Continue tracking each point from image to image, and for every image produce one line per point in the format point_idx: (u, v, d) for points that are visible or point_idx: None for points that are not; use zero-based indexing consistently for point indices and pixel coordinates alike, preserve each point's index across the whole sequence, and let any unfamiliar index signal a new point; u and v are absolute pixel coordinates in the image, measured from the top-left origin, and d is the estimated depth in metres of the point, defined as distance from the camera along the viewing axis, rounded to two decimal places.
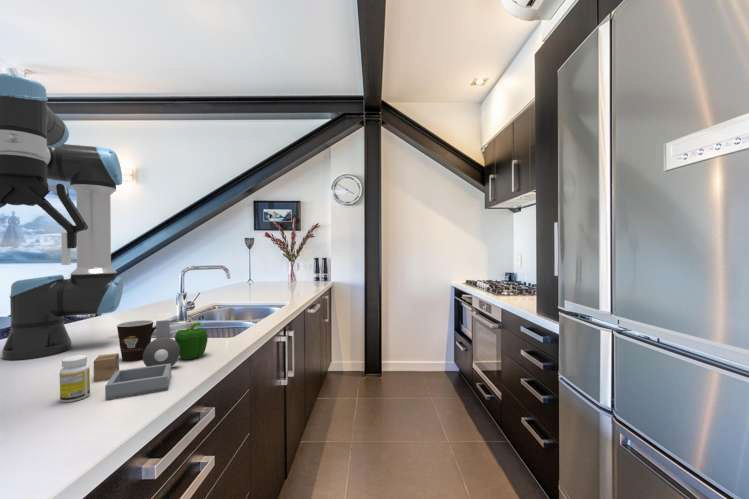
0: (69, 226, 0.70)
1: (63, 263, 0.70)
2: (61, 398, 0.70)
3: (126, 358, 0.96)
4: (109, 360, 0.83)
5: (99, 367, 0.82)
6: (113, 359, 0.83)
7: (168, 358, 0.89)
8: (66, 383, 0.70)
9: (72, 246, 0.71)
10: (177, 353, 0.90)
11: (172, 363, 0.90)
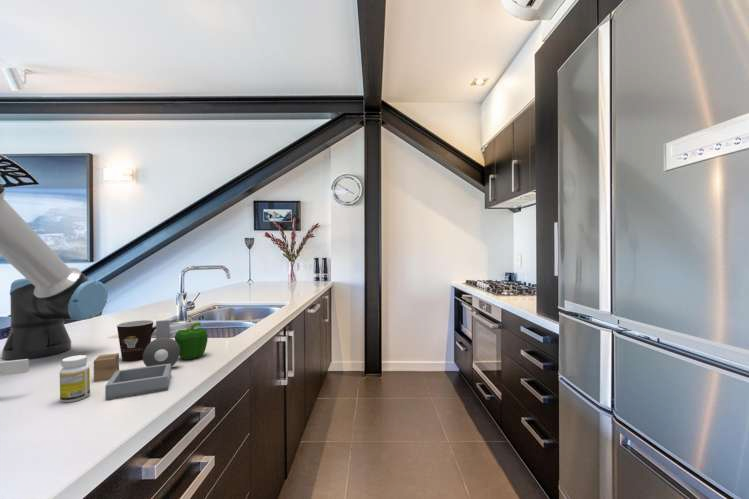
0: None
1: None
2: (61, 398, 0.70)
3: (126, 358, 0.96)
4: (109, 360, 0.83)
5: (99, 367, 0.82)
6: (113, 359, 0.83)
7: (168, 358, 0.89)
8: (66, 383, 0.70)
9: None
10: (177, 353, 0.90)
11: (172, 363, 0.90)
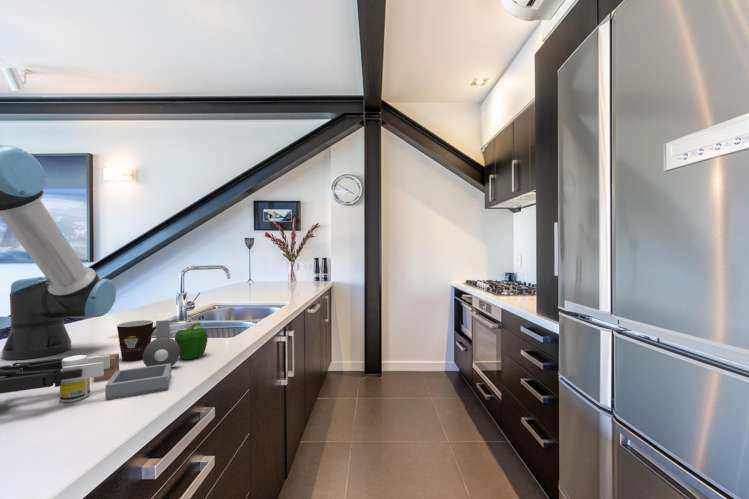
0: (52, 383, 0.68)
1: (101, 375, 0.72)
2: (61, 398, 0.70)
3: (126, 358, 0.96)
4: None
5: None
6: (113, 359, 0.83)
7: (168, 358, 0.89)
8: (66, 383, 0.70)
9: (78, 377, 0.70)
10: (177, 353, 0.90)
11: (172, 363, 0.90)
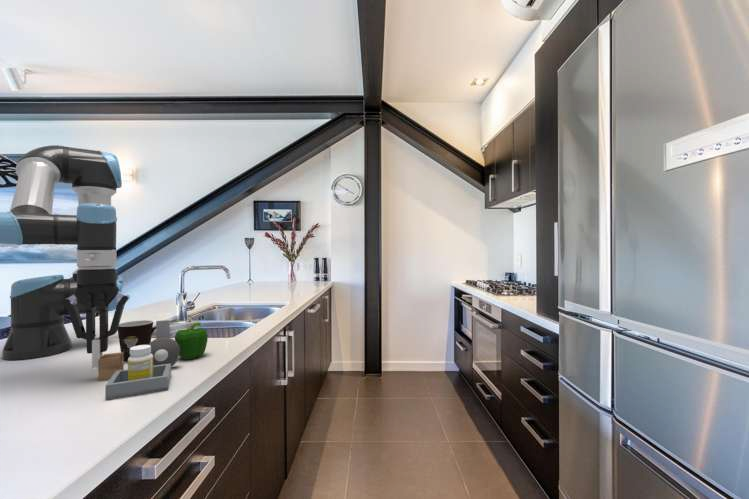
0: (104, 334, 0.83)
1: (97, 366, 0.82)
2: None
3: (126, 358, 0.96)
4: (114, 359, 0.83)
5: (104, 366, 0.82)
6: (117, 358, 0.83)
7: (168, 358, 0.89)
8: (135, 370, 0.76)
9: (104, 350, 0.84)
10: (177, 353, 0.90)
11: (172, 363, 0.90)
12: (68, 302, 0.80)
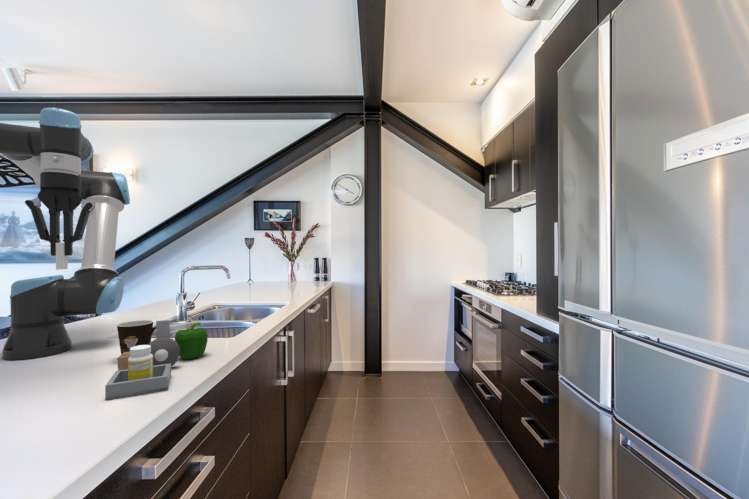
0: (68, 238, 0.85)
1: (61, 268, 0.84)
2: None
3: None
4: None
5: (123, 364, 0.84)
6: None
7: (168, 358, 0.89)
8: (135, 370, 0.76)
9: (68, 254, 0.86)
10: (177, 353, 0.90)
11: (172, 363, 0.90)
12: (31, 203, 0.82)
